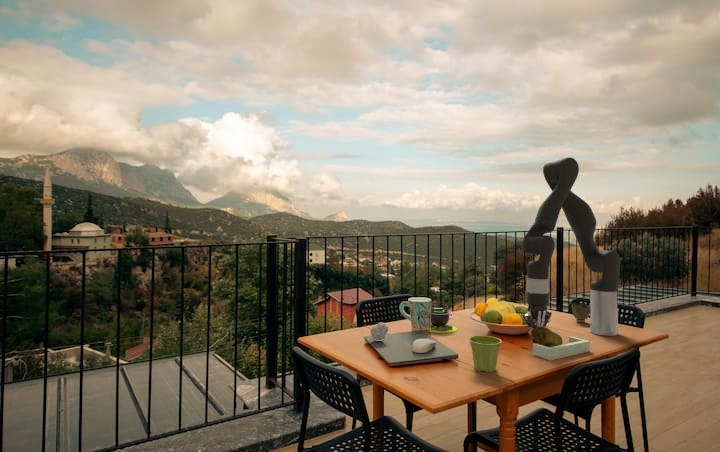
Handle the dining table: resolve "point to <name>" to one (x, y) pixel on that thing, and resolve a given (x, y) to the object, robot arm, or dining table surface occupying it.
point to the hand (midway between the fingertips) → (537, 339)
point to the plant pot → (485, 352)
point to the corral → (562, 349)
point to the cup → (580, 312)
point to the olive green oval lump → (545, 337)
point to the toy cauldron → (441, 321)
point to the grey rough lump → (379, 331)
